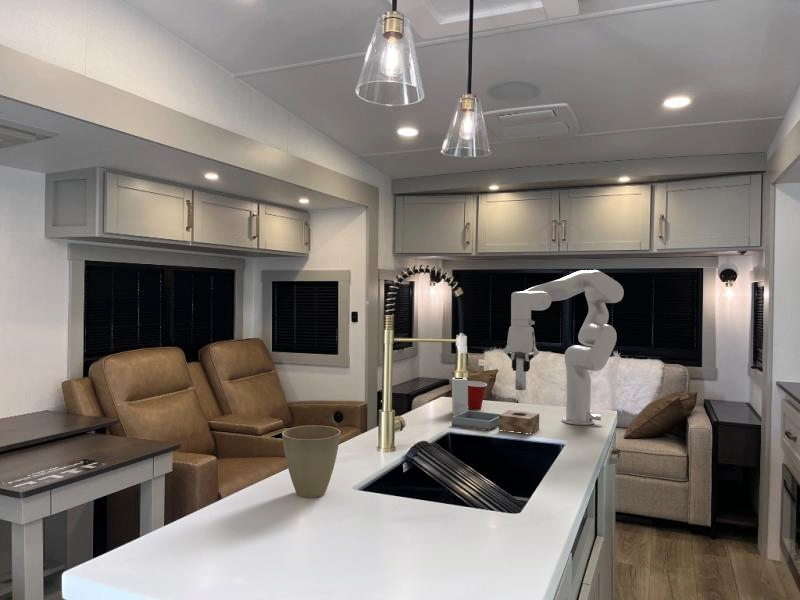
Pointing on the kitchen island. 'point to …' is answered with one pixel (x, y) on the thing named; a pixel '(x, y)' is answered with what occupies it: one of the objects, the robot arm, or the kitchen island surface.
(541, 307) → the robot arm
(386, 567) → the kitchen island surface
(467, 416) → the tray
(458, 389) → the skincare box
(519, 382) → the pin
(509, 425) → the pin block
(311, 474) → the plant pot
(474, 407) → the plastic cup
